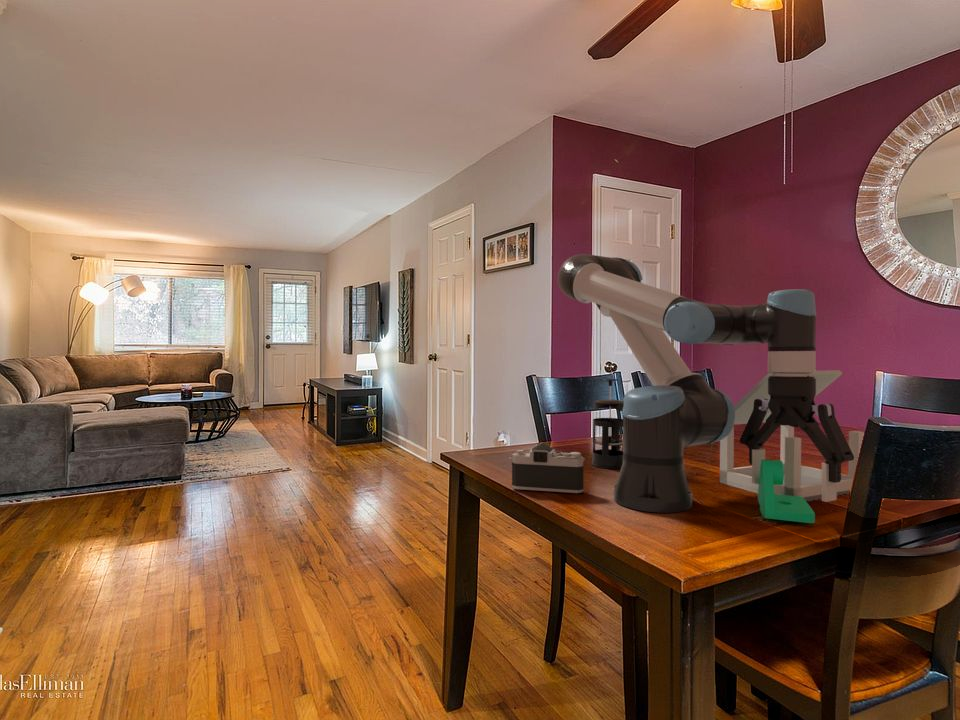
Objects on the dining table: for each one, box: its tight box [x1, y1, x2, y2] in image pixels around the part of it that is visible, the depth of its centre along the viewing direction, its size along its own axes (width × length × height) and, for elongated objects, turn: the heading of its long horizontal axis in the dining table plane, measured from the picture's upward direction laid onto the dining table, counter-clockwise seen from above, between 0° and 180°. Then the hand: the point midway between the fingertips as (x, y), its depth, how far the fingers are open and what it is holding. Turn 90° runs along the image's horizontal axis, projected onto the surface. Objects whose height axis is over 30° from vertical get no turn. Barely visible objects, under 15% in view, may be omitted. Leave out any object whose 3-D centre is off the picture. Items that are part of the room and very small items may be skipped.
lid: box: [734, 369, 843, 425], centre depth 118 cm, size 22×18×2 cm
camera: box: [511, 441, 586, 494], centre depth 115 cm, size 16×9×10 cm, turn 76°
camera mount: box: [757, 459, 816, 524], centre depth 95 cm, size 12×8×10 cm, turn 157°
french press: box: [591, 378, 624, 470], centre depth 138 cm, size 12×9×23 cm
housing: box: [719, 425, 865, 503], centre depth 115 cm, size 22×18×13 cm
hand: (791, 491), depth 94 cm, fingers open, 13 cm apart
